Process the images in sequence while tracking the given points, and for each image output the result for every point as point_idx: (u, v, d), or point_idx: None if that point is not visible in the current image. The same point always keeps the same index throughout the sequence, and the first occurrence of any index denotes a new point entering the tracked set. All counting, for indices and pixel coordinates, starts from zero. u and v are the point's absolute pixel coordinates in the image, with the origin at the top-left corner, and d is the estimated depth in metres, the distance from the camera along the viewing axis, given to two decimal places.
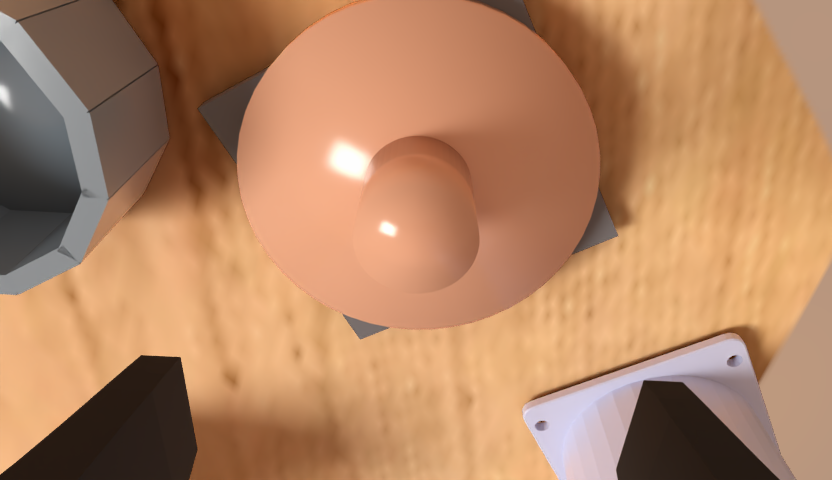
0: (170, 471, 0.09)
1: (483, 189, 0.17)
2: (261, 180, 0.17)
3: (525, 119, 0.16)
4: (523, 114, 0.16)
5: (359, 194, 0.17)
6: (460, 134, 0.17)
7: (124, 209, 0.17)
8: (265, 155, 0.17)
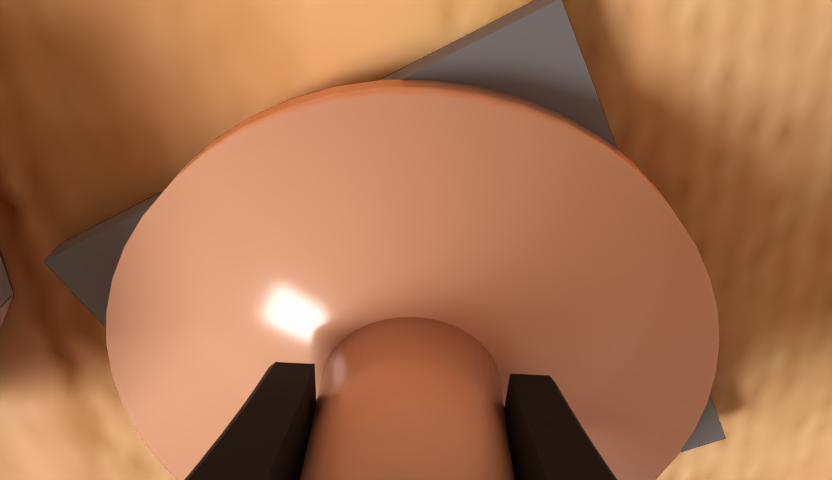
0: None
1: None
2: (151, 379, 0.10)
3: (596, 293, 0.09)
4: (593, 286, 0.09)
5: None
6: (483, 315, 0.10)
7: None
8: (155, 344, 0.10)
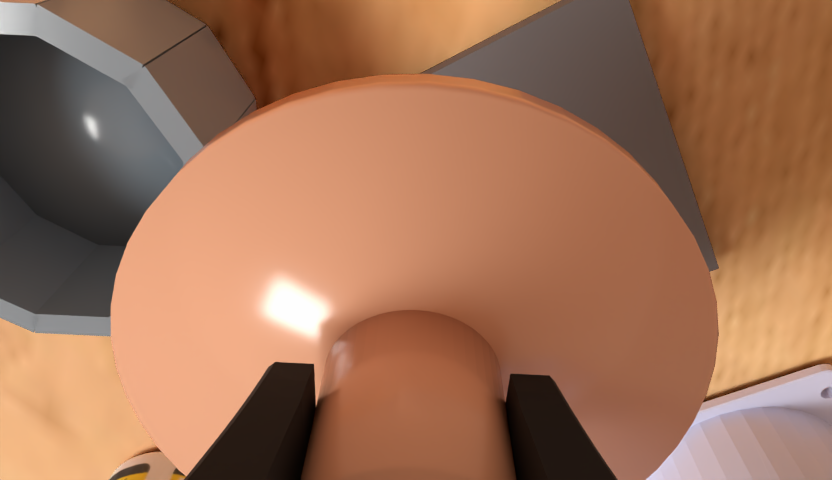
0: None
1: None
2: (155, 372, 0.11)
3: (595, 286, 0.09)
4: (592, 278, 0.09)
5: (317, 391, 0.11)
6: (483, 308, 0.10)
7: None
8: (159, 338, 0.10)
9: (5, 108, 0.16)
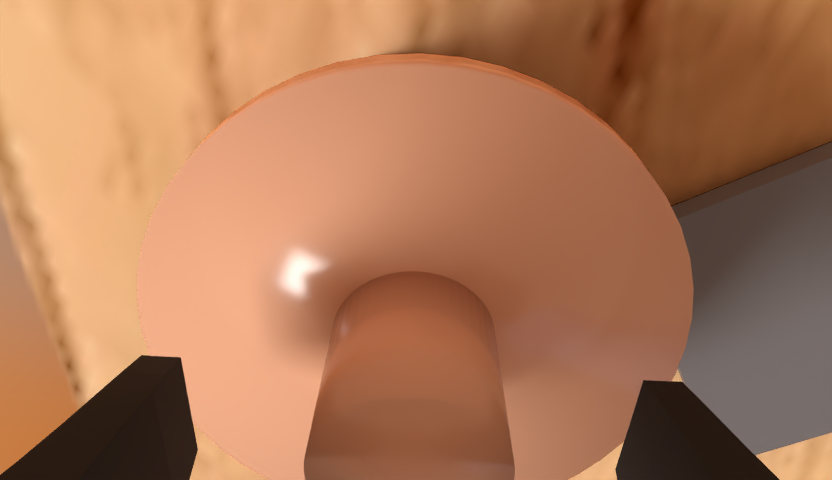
0: (170, 471, 0.09)
1: (512, 340, 0.11)
2: (177, 336, 0.12)
3: (578, 245, 0.10)
4: (575, 238, 0.10)
5: (326, 351, 0.12)
6: (476, 268, 0.11)
7: None
8: (181, 302, 0.11)
9: None
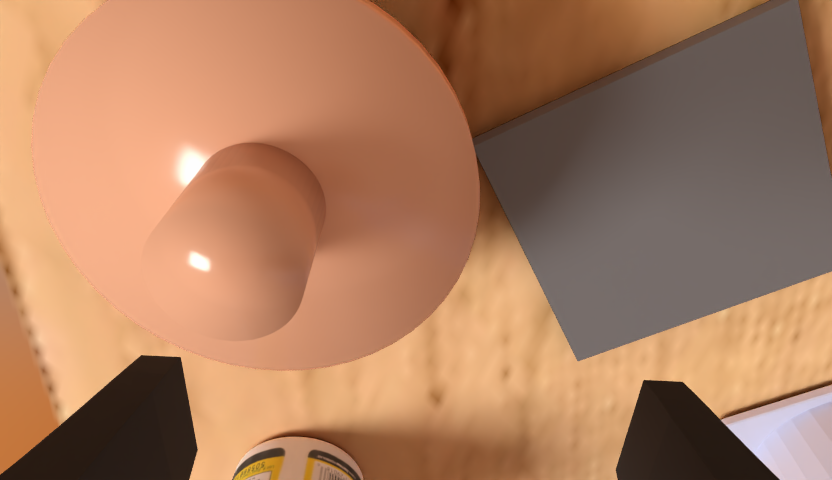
0: (170, 471, 0.09)
1: (340, 205, 0.14)
2: (69, 201, 0.14)
3: (378, 119, 0.13)
4: (375, 113, 0.13)
5: None
6: (301, 139, 0.13)
7: None
8: (69, 171, 0.14)
9: None
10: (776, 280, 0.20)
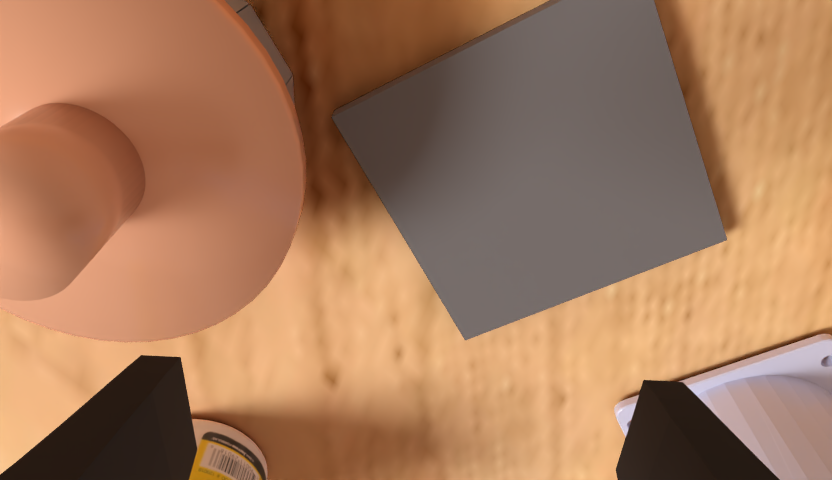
0: (170, 471, 0.09)
1: (158, 168, 0.14)
2: None
3: (182, 78, 0.13)
4: (178, 71, 0.13)
5: None
6: (108, 100, 0.13)
7: None
8: None
9: None
10: (656, 255, 0.20)
